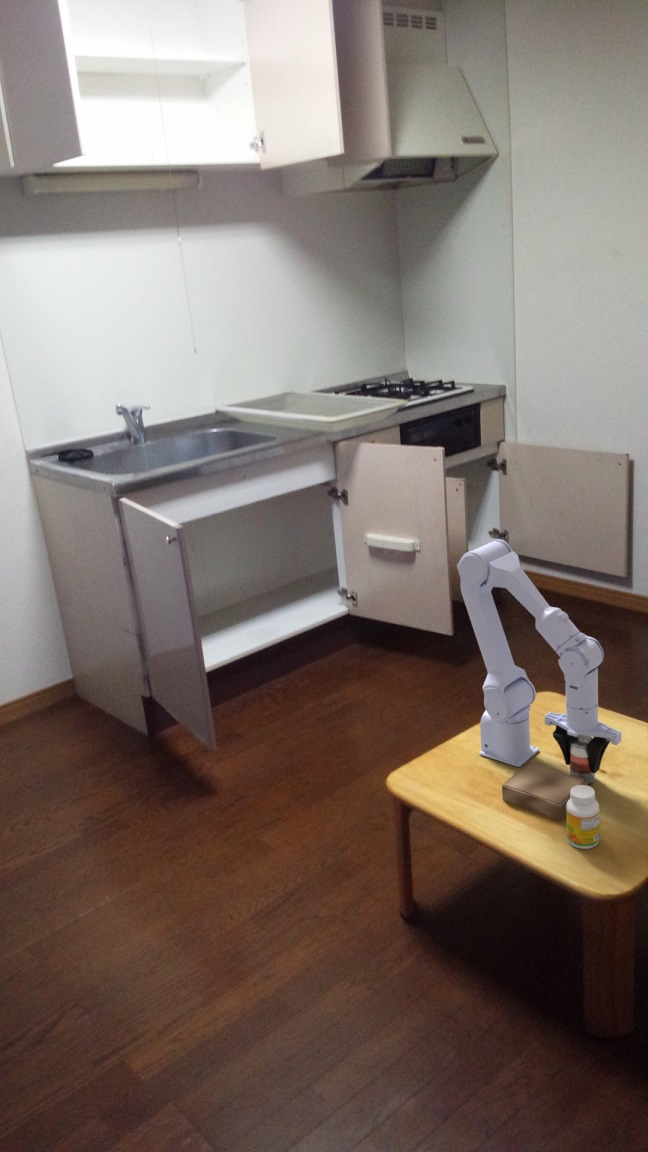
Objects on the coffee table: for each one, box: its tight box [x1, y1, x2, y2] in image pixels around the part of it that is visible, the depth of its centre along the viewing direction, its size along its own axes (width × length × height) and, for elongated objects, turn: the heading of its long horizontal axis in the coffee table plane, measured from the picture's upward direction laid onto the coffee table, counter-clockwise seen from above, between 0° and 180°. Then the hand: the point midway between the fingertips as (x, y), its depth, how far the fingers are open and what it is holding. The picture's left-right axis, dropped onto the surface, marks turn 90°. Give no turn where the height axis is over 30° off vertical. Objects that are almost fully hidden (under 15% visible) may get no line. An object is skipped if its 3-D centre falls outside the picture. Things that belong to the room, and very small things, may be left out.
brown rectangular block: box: [501, 761, 589, 821], centre depth 166 cm, size 12×10×3 cm
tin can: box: [569, 735, 596, 785], centre depth 170 cm, size 5×5×8 cm
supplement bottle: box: [566, 785, 601, 850], centre depth 152 cm, size 5×5×10 cm
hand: (582, 766), depth 170 cm, fingers closed on tin can, 5 cm apart
